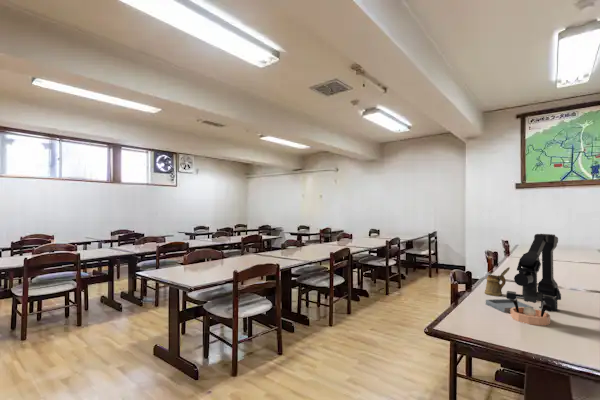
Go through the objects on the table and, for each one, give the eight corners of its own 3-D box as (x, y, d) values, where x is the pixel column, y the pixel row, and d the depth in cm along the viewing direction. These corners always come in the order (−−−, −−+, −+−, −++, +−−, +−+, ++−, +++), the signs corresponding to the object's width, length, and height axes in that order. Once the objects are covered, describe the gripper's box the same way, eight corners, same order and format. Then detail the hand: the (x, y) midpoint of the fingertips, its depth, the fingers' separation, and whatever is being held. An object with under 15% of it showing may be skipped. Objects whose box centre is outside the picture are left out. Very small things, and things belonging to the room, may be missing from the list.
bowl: (531, 313, 162) (531, 306, 162) (558, 324, 147) (558, 317, 147) (503, 314, 160) (503, 307, 160) (528, 325, 145) (528, 318, 145)
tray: (512, 303, 179) (512, 299, 179) (533, 311, 165) (533, 307, 165) (485, 304, 177) (485, 299, 177) (504, 312, 163) (504, 307, 163)
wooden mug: (506, 298, 188) (506, 268, 188) (482, 293, 198) (482, 264, 199) (512, 296, 193) (512, 266, 194) (488, 291, 204) (488, 263, 204)
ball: (530, 315, 156) (530, 305, 156) (538, 319, 151) (538, 308, 151) (520, 315, 156) (520, 305, 156) (529, 319, 151) (529, 308, 151)
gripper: (506, 283, 152) (506, 316, 152) (556, 289, 142) (556, 325, 142) (506, 279, 162) (506, 310, 161) (553, 284, 151) (553, 318, 151)
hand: (529, 315), depth 154 cm, fingers open, 9 cm apart
